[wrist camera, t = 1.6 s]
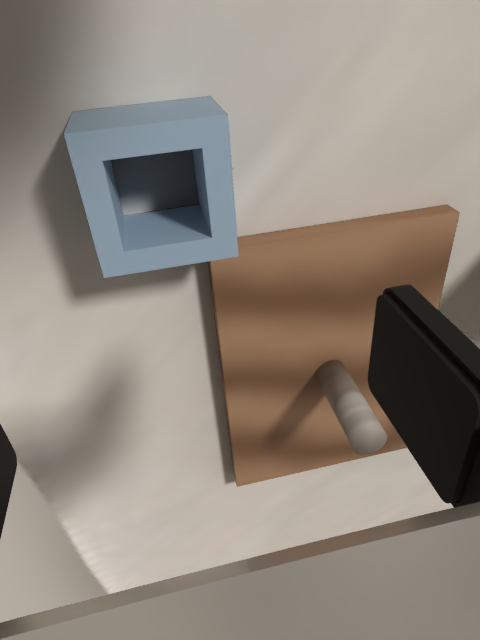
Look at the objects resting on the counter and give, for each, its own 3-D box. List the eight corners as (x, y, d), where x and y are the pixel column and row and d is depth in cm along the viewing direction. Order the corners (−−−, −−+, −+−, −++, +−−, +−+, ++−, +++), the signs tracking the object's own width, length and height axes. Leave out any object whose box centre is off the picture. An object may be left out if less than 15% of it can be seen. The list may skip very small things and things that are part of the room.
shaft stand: (205, 242, 24) (232, 317, 19) (447, 204, 26) (539, 262, 21) (233, 473, 36) (255, 564, 30) (399, 436, 38) (449, 514, 32)
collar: (72, 111, 20) (63, 133, 16) (210, 95, 20) (227, 114, 17) (105, 239, 23) (103, 278, 20) (222, 221, 24) (238, 256, 21)
